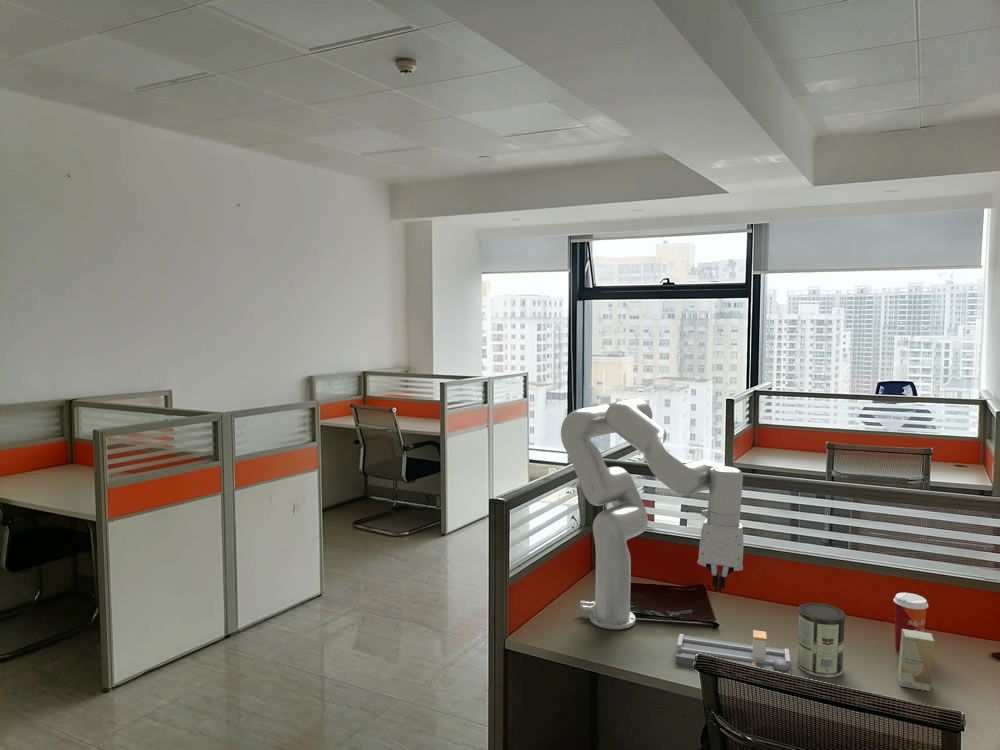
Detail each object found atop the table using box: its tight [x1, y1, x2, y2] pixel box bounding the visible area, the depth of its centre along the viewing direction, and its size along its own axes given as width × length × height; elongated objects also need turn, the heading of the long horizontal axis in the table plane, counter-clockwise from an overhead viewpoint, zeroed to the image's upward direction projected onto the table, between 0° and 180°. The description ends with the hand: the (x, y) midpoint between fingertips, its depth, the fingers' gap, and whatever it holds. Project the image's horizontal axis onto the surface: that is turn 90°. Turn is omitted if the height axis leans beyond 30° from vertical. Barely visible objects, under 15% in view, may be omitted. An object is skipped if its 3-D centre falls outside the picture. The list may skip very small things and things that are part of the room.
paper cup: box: [893, 592, 929, 654], centre depth 185 cm, size 8×8×14 cm
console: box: [675, 633, 791, 675], centre depth 180 cm, size 26×12×4 cm, turn 71°
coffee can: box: [796, 602, 846, 679], centre depth 177 cm, size 10×10×14 cm
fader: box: [752, 629, 767, 660], centre depth 178 cm, size 3×4×6 cm
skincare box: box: [897, 629, 935, 692], centre depth 169 cm, size 6×4×12 cm
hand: (718, 589), depth 180 cm, fingers closed
